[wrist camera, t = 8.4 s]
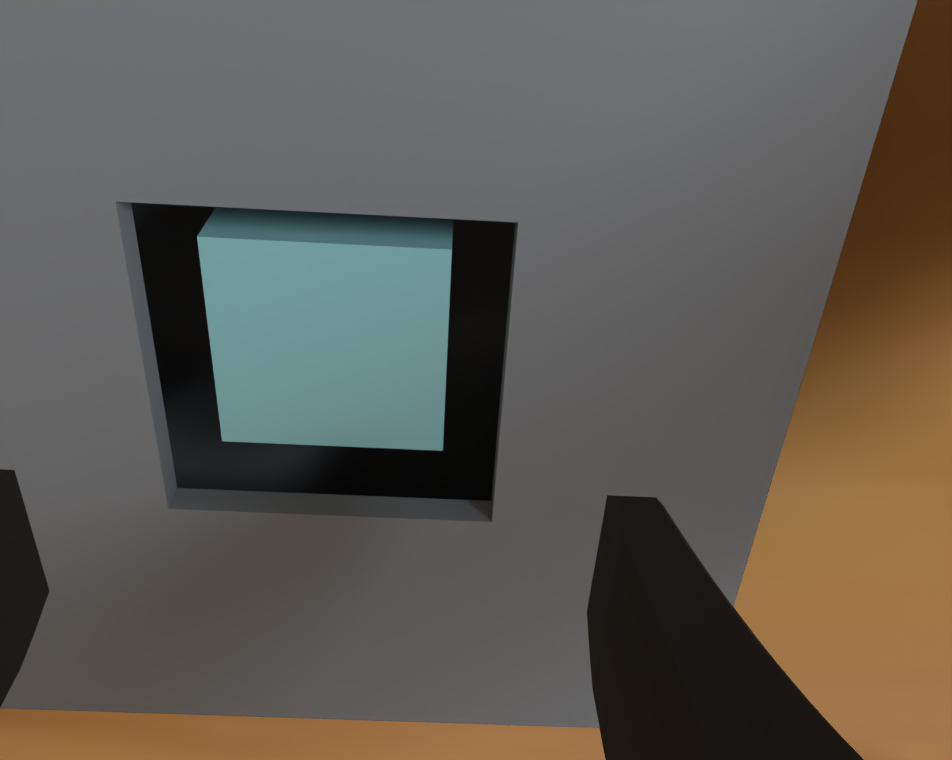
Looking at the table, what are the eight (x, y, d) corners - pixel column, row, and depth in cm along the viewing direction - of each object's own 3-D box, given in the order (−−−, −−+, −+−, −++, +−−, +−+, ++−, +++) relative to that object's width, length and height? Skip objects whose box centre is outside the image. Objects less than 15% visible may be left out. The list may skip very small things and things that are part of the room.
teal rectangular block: (457, 147, 18) (451, 249, 14) (449, 318, 20) (442, 450, 16) (260, 136, 18) (197, 236, 14) (273, 309, 20) (221, 441, 16)
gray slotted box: (820, -225, 15) (989, -239, 10) (650, 545, 25) (695, 731, 20) (-126, -290, 15) (-433, -339, 10) (76, 522, 25) (-27, 707, 20)
